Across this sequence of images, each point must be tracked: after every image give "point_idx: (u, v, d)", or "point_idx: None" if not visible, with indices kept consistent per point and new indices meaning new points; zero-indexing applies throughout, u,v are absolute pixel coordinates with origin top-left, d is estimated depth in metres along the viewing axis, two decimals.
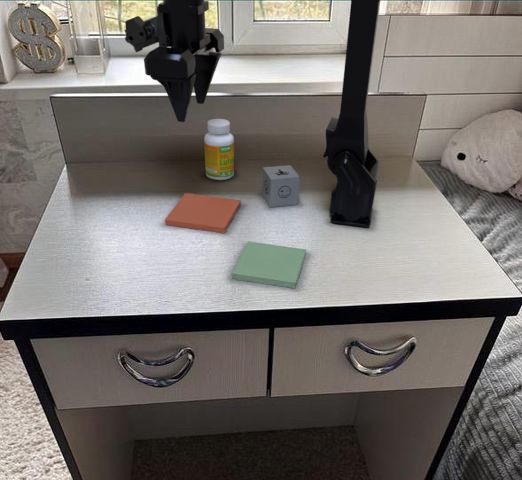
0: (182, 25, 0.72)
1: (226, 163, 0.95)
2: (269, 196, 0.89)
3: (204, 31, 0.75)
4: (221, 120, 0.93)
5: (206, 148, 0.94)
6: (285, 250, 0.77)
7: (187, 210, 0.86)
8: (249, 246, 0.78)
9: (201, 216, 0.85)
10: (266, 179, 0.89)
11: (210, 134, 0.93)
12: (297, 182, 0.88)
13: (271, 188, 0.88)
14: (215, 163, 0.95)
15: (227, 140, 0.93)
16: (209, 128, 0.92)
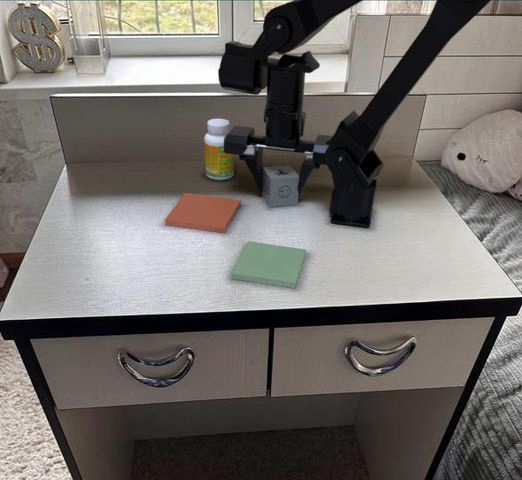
0: (266, 120, 0.83)
1: (226, 163, 0.95)
2: (269, 196, 0.89)
3: (280, 134, 0.82)
4: (221, 120, 0.93)
5: (206, 148, 0.94)
6: (285, 250, 0.77)
7: (187, 210, 0.86)
8: (249, 246, 0.78)
9: (201, 216, 0.85)
10: (266, 179, 0.89)
11: (210, 134, 0.93)
12: (297, 182, 0.88)
13: (271, 188, 0.88)
14: (215, 163, 0.95)
15: None
16: (209, 128, 0.92)
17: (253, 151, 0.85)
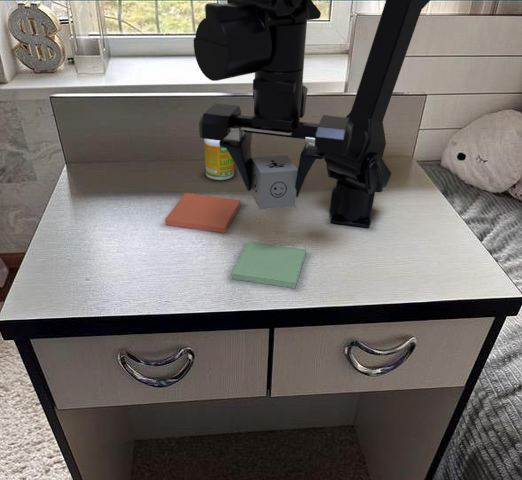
0: (254, 95, 0.63)
1: (226, 163, 0.95)
2: (258, 194, 0.69)
3: (272, 112, 0.62)
4: None
5: (206, 148, 0.94)
6: (285, 250, 0.77)
7: (187, 210, 0.86)
8: (249, 246, 0.78)
9: (201, 216, 0.85)
10: (255, 173, 0.69)
11: None
12: (295, 177, 0.68)
13: (261, 184, 0.67)
14: (215, 163, 0.95)
15: None
16: None
17: (238, 136, 0.65)
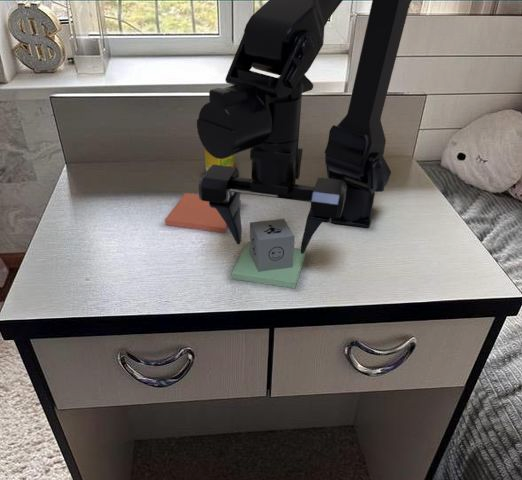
0: None
1: (226, 163, 0.95)
2: (257, 258, 0.72)
3: (269, 179, 0.64)
4: None
5: None
6: None
7: (187, 210, 0.86)
8: (249, 246, 0.78)
9: (201, 216, 0.85)
10: (254, 237, 0.72)
11: None
12: (292, 242, 0.71)
13: (260, 250, 0.71)
14: (215, 163, 0.95)
15: None
16: None
17: (226, 197, 0.68)
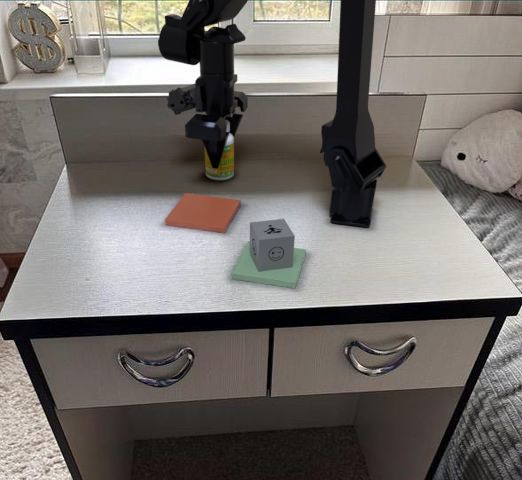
0: (216, 96, 0.87)
1: (226, 163, 0.95)
2: (257, 258, 0.72)
3: (233, 99, 0.90)
4: None
5: None
6: None
7: (187, 210, 0.86)
8: (249, 246, 0.78)
9: (201, 216, 0.85)
10: (254, 237, 0.72)
11: None
12: (292, 242, 0.71)
13: (260, 250, 0.71)
14: None
15: (227, 140, 0.93)
16: None
17: None
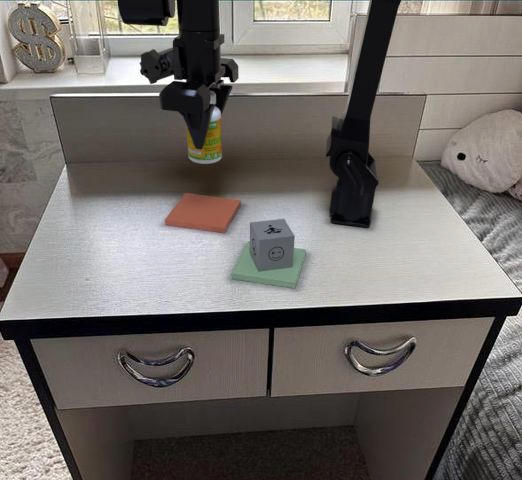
0: (198, 59, 0.72)
1: (212, 143, 0.80)
2: (257, 258, 0.72)
3: (219, 64, 0.74)
4: None
5: None
6: None
7: (187, 210, 0.86)
8: (249, 246, 0.78)
9: (201, 216, 0.85)
10: (254, 237, 0.72)
11: None
12: (292, 242, 0.71)
13: (260, 250, 0.71)
14: None
15: (213, 115, 0.78)
16: None
17: None
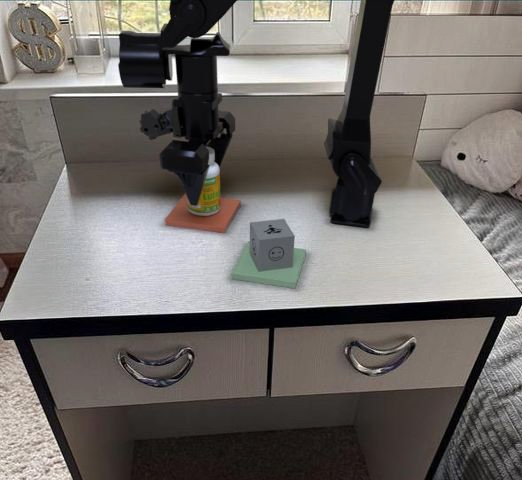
0: (196, 119, 0.74)
1: (211, 197, 0.83)
2: (257, 258, 0.72)
3: (217, 122, 0.77)
4: None
5: None
6: None
7: (187, 210, 0.86)
8: (249, 246, 0.78)
9: (201, 216, 0.85)
10: (254, 237, 0.72)
11: None
12: (292, 242, 0.71)
13: (260, 250, 0.71)
14: None
15: (212, 171, 0.80)
16: None
17: None
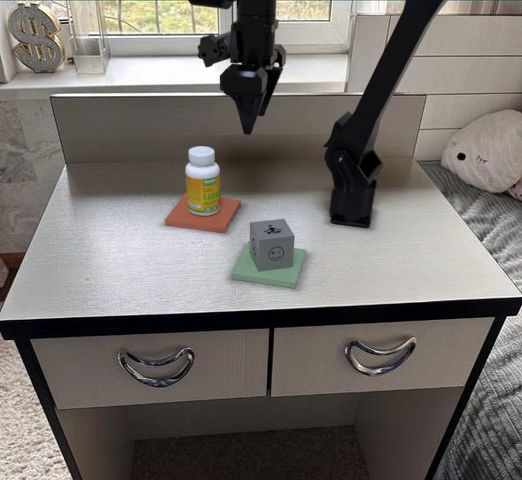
0: (255, 43, 0.75)
1: (211, 197, 0.83)
2: (257, 258, 0.72)
3: (274, 48, 0.78)
4: (205, 148, 0.81)
5: (187, 180, 0.82)
6: None
7: (187, 210, 0.86)
8: (249, 246, 0.78)
9: (201, 216, 0.85)
10: (254, 237, 0.72)
11: (192, 164, 0.80)
12: (292, 242, 0.71)
13: (260, 250, 0.71)
14: (198, 197, 0.82)
15: (212, 171, 0.80)
16: (190, 158, 0.80)
17: None
